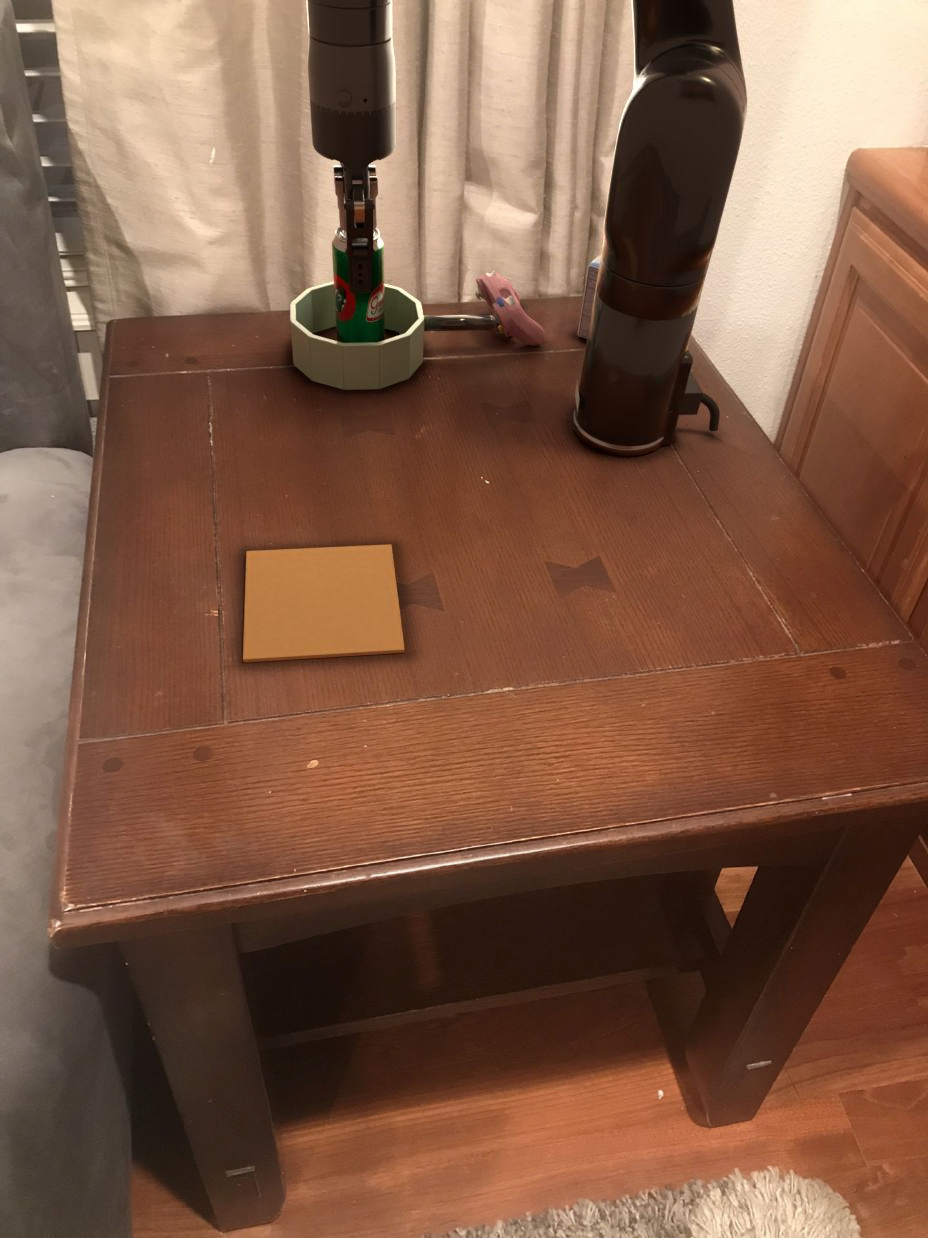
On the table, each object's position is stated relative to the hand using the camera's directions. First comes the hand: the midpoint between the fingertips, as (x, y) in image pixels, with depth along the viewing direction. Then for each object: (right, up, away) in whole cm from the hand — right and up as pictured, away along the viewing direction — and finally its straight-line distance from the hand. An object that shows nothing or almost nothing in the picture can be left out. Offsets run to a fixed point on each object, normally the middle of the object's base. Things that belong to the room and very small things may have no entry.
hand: (358, 277), depth 95 cm
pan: (+3, -6, +7) cm, 9 cm away
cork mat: (-1, -33, -20) cm, 38 cm away
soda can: (0, -5, +5) cm, 8 cm away
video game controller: (+15, -2, +12) cm, 20 cm away
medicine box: (+28, -3, +12) cm, 30 cm away
